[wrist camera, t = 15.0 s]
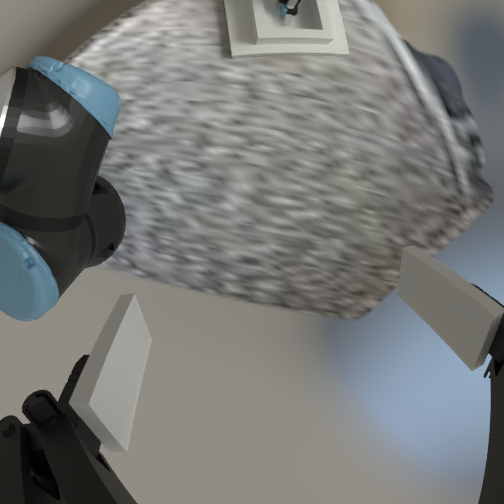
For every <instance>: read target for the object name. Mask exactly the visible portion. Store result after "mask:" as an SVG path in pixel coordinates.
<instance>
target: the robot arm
mask: <svg viewBox="0 0 504 504" xmlns="http://www.w3.org/2000/svg"><path fill="white" fill-rule="evenodd" d="M120 109H121V99H120V96H119V94H118V93H117V92H116V90H115V89H113V88H112V87H111V86H110V85H108V84H107V83H105V82H104V81H102V80H101V79H99V78H97V77H95V76H93V75H92V74H90V73H88V72H86V71H84V70H81V69H79V68H77V67H75V66H72V65H70V64H64V63H63V62H60V61H57V60H55V59H53V58H49V57H44V56H37V57H35V58H33V59H32V60H31V62H29V63H28V65H27V69H24V68H19V67H15V66H11V67H10V68H8V69H7V70H5V71H4V72H2V73H1V74H0V310H1V311H2V312H4V313H5V314H7V315H9V316H10V317H12V318H15V319H17V320H21V321H33V320H36V319H39V318H40V317H42V316H43V315H44V314H45V313H46V312H47V311H49V309H51V308H52V307H54V305H56V303H57V301H58V299H59V298H60V297H61V295H62V294H63V293H64V292H65V290H66V289H67V288H68V287H69V286H70V284H71V283H72V282H73V281H74V280H75V279H76V277H77V276H78V275H79V274H80V273H81V272H82V271H83V269H85V268H89V267H92V266H96V265H98V264H101V263H102V262H104V261H106V260H107V259H108V258H109V257H110V256H111V255H112V254H113V253H114V252H115V251H116V249H117V248H118V246H119V245H120V243H121V241H122V239H123V236H124V232H125V225H126V218H125V211H124V207H123V203H122V201H121V199H120V197H119V195H118V193H117V191H116V190H115V189H114V187H113V186H112V185H111V184H110V183H109V182H108V181H106V180H105V179H103V178H102V177H100V176H98V172H99V168H100V165H101V162H102V159H103V156H104V154H105V151H106V148H107V145H108V142H109V140H111V139H112V137H113V129H114V126H115V123H116V120H117V118H118V115H119V112H120ZM398 296H400V297H401V298H402V299H403V300H404V301H405V302H406V303H407V304H408V305H409V306H410V307H411V308H412V309H413V310H414V311H415V312H416V313H417V314H418V315H419V316H420V317H421V318H422V319H423V320H424V321H425V322H426V323H427V324H428V325H429V326H430V327H431V328H432V329H433V330H434V331H435V332H436V333H437V334H438V335H439V336H440V337H441V338H442V339H443V340H444V341H445V343H446V344H447V345H448V346H449V347H450V348H451V349H452V350H453V351H454V352H455V353H456V354H457V355H458V356H459V358H460V359H461V360H462V361H463V362H464V363H465V364H466V365H467V366H468V367H469V368H470V370H471V371H473V370H475V369H476V368H478V367H480V366H481V365H483V364H484V362H485V359H486V357H487V355H488V353H489V354H490V355H491V356H492V359H491V361H490V363H489V365H488V367H487V370H486V371H485V373H484V378H485V377H486V376H487V374H488V372H490V376H489V378H490V379H491V415H490V433H489V444H488V453H487V461H486V468H485V474H484V480H483V485H482V491H481V494H480V499H479V503H478V504H504V306H503V305H502V304H501V303H499V302H498V301H497V300H495V299H494V298H493V297H491V296H490V295H489V294H487V293H486V292H484V291H483V290H482V289H480V288H479V287H478V286H476V285H474V284H472V283H469V282H468V281H466V280H465V279H464V278H462V277H461V276H459V275H458V274H456V273H455V272H453V271H452V270H450V269H449V268H447V267H446V266H445V265H443V264H441V263H440V262H438V261H437V260H435V259H434V258H432V257H431V256H429V255H428V254H426V253H425V252H423V251H422V250H420V249H418V248H417V247H415V246H409V247H404V248H402V260H401V271H400V280H399V288H398ZM151 342H152V339H151V337H150V334H149V331H148V329H147V326H146V323H145V321H144V318H143V315H142V312H141V310H140V307H139V304H138V301H137V298H136V295H135V293H133V294H126V295H120V297H119V299H118V300H117V302H116V304H115V306H114V308H113V310H112V312H111V314H110V315H109V318H108V319H107V321H106V323H105V325H104V327H103V329H102V331H101V333H100V335H99V337H98V339H97V341H96V343H95V345H94V347H93V349H92V352H91V354H90V355H83V356H82V357H81V358H80V359H79V361H77V363H76V364H75V366H74V368H73V370H72V372H71V373H72V374H71V375H70V376H69V378H68V382H67V383H66V385H65V387H64V389H63V391H62V394H61V396H60V398H59V400H58V402H57V401H56V399H55V398H54V397H53V395H52V394H51V393H50V392H49V391H47V390H39V391H36V392H33V393H32V394H30V395H29V396H28V397H27V398H26V400H25V401H24V403H23V406H22V412H23V414H24V415H25V416H26V417H27V419H28V420H29V421H30V422H31V423H29V424H22V423H21V422H20V420H19V419H18V418H17V417H15V416H13V415H11V416H6V417H4V418H3V419H2V420H0V504H137V503H136V501H135V500H134V499H133V498H132V496H131V495H130V494H129V492H128V491H127V490H126V488H125V487H124V486H123V484H122V483H121V481H120V480H119V479H118V477H117V476H116V474H115V473H114V471H113V470H112V469H111V467H110V465H109V464H108V462H107V461H106V459H105V458H104V456H103V455H102V454H101V453H100V452H99V449H100V445H101V443H102V444H103V445H104V447H105V448H106V449H107V450H108V451H115V452H127V451H128V446H129V439H130V434H131V429H132V424H133V419H134V415H135V410H136V405H137V400H138V396H139V391H140V387H141V382H142V378H143V374H144V370H145V366H146V362H147V358H148V354H149V350H150V346H151Z"/></svg>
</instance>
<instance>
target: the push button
mask: <svg viewBox="0 0 504 504" xmlns="http://www.w3.org/2000/svg"><path fill="white" fill-rule="evenodd" d="M300 2H301V0H277V1H276V7H277V6H278V4H280V17H283V19H284V25H288V26H289V25H290V23H291V18H292V16H296V14H297V13H298V5H299V3H300ZM287 23H288V24H287Z"/></svg>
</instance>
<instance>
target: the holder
mask: <svg viewBox="0 0 504 504" xmlns="http://www.w3.org/2000/svg"><path fill="white" fill-rule="evenodd" d="M223 1H224V8H225V15H226V22H227V29H228V36H229V43H230V50H231V57H232V59H235V58H245V57H258V56H277V55H323V56H342V57H346V56H347V55H349V51H348V46H347V41H346V36H345V31H344V27H343V22H342V18H341V14H340V10H339V6H338V2H337V0H301V2H300V3H299V5H298V13H297V14H296V16H292V18H291V23H290V25H289V26H288V25H284V19H283V17H280V4H278V6H277V7H276V1H277V0H223ZM287 24H288V23H287Z"/></svg>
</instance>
